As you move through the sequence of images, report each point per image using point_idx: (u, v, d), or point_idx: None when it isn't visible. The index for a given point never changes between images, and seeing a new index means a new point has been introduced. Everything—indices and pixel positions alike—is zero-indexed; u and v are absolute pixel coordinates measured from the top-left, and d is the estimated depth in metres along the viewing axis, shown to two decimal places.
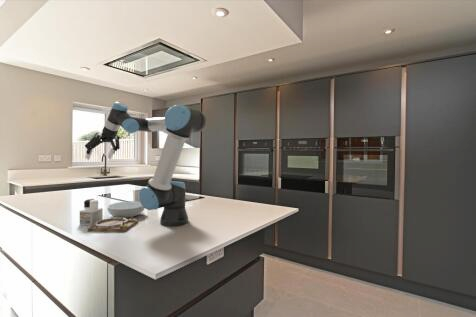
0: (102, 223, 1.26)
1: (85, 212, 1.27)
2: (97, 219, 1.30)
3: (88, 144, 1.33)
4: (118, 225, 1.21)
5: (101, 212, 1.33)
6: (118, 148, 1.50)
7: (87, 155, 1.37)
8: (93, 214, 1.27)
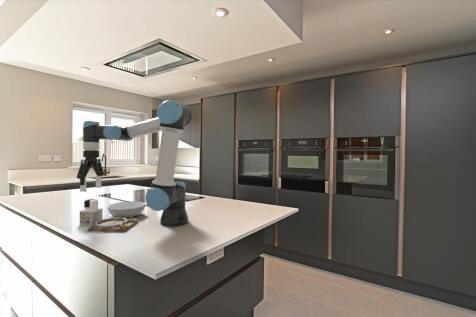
0: (102, 223, 1.26)
1: (85, 212, 1.27)
2: (97, 219, 1.30)
3: (80, 173, 1.21)
4: (118, 225, 1.21)
5: (101, 212, 1.33)
6: (103, 173, 1.39)
7: (82, 188, 1.23)
8: (93, 214, 1.27)
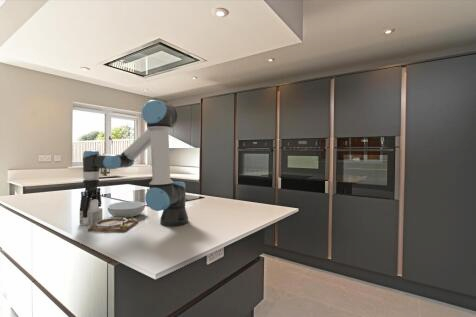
0: (102, 223, 1.26)
1: None
2: (97, 219, 1.30)
3: (82, 206, 1.23)
4: (118, 225, 1.21)
5: (101, 212, 1.33)
6: (100, 203, 1.37)
7: (85, 220, 1.26)
8: (93, 214, 1.27)
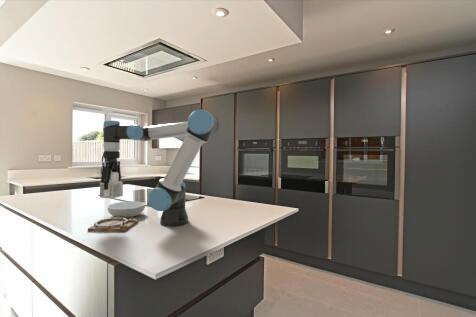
0: (102, 223, 1.26)
1: None
2: (118, 192, 1.25)
3: (103, 177, 1.18)
4: (118, 225, 1.21)
5: (121, 185, 1.27)
6: (120, 177, 1.32)
7: (106, 192, 1.20)
8: (114, 186, 1.21)
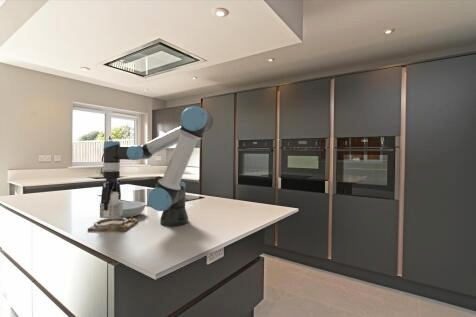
0: (102, 223, 1.26)
1: None
2: (117, 212, 1.25)
3: (103, 198, 1.18)
4: (118, 225, 1.21)
5: (121, 205, 1.28)
6: (120, 196, 1.32)
7: (106, 212, 1.21)
8: (113, 207, 1.22)
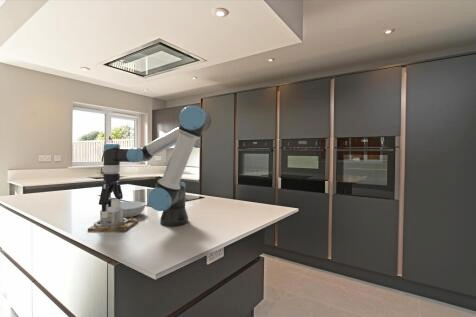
0: None
1: None
2: (118, 219, 1.25)
3: (102, 199, 1.16)
4: (118, 225, 1.21)
5: (122, 212, 1.28)
6: (122, 196, 1.34)
7: (104, 214, 1.19)
8: (114, 214, 1.22)
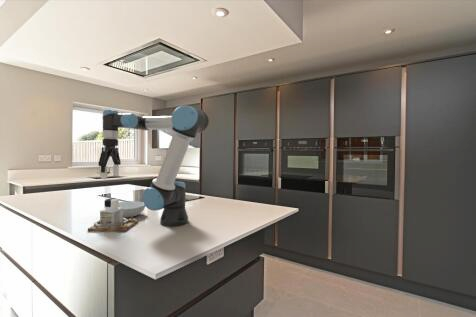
0: None
1: (106, 212, 1.22)
2: (118, 219, 1.25)
3: (101, 160, 1.23)
4: (118, 225, 1.21)
5: (121, 212, 1.28)
6: (120, 162, 1.41)
7: (103, 175, 1.25)
8: (114, 214, 1.22)
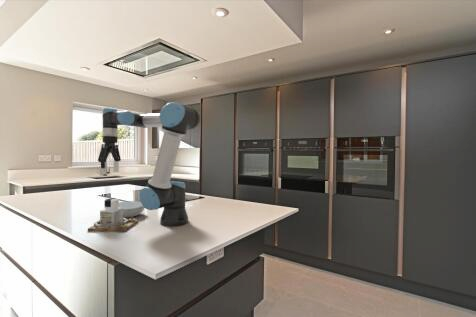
0: None
1: (106, 212, 1.22)
2: (118, 219, 1.25)
3: (101, 156, 1.28)
4: (118, 225, 1.21)
5: (121, 212, 1.28)
6: (120, 158, 1.47)
7: (103, 170, 1.31)
8: (114, 214, 1.22)
